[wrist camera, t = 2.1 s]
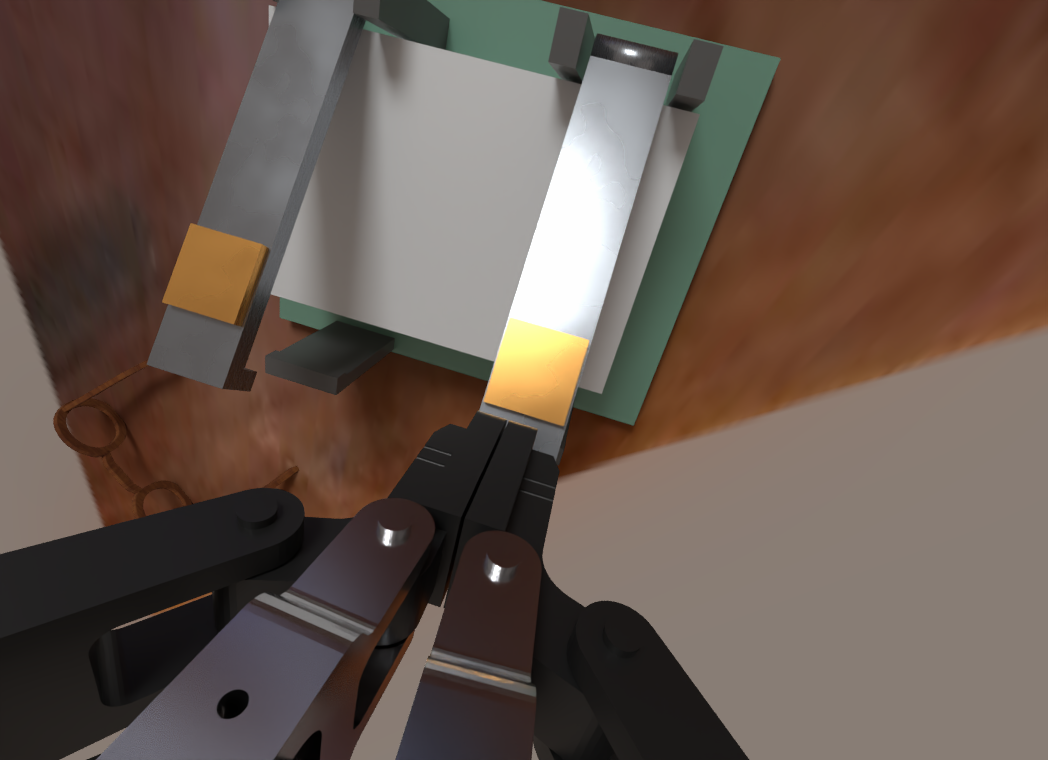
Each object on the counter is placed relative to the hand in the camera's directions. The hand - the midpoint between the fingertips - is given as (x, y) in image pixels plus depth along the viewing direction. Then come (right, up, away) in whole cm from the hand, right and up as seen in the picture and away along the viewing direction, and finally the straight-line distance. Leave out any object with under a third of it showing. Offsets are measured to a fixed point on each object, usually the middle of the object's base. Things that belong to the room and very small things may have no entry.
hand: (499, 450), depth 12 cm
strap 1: (-9, +10, +8) cm, 15 cm away
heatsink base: (-2, +11, +16) cm, 19 cm away
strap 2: (+2, +6, +7) cm, 9 cm away
